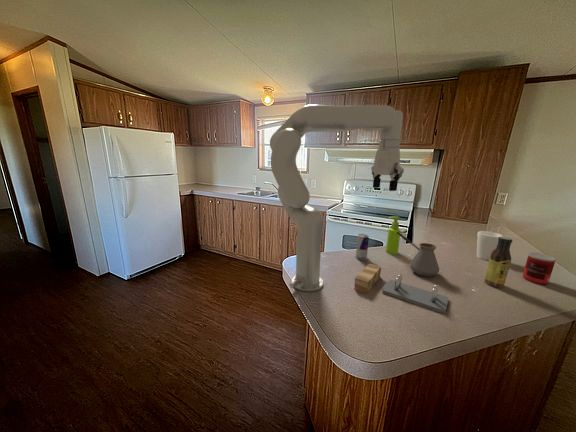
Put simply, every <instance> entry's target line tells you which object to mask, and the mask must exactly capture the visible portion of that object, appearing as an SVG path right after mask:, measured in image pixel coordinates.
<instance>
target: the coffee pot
mask: <svg viewBox="0 0 576 432" xmlns="http://www.w3.org/2000/svg"><path fill="white" fill-rule="evenodd" d="M396 233H397V234H399V235H400V238H402V240H404V241H406V242H407V243H409V244H410V245H411V246H413V247H414V248H415V249H417V250H418V251H417V253H416V254H415V255H414V257H413V258H412V260H411V261H410V262H409V266H410V269H412V271H413V272H414V273H415V274H417V275H419V276H421V277H429V278H430V277H433V276H434V275H435V276H436V275H437V274H438V273H439V272H440V266H439V263H438V261H437V257H436V254H435V250H436V249H437V246H436V244H432V243H427V242H422V243H421V242H420V243H419V244H418V245H419V247H418V246H417V245H416V244H415V243H413V242H412V241H411V240H410V239H408V238H407V237H406V236H404V235H403V234H402V233H399V232H396ZM396 233H395V234H396ZM397 234H396V235H397Z"/></svg>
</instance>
